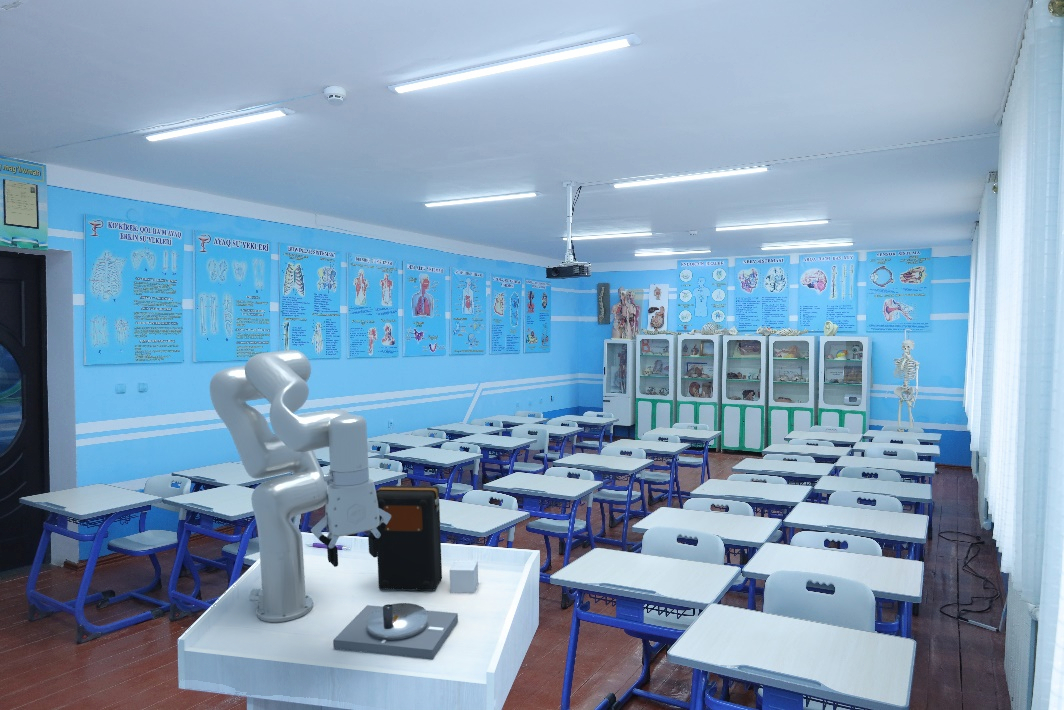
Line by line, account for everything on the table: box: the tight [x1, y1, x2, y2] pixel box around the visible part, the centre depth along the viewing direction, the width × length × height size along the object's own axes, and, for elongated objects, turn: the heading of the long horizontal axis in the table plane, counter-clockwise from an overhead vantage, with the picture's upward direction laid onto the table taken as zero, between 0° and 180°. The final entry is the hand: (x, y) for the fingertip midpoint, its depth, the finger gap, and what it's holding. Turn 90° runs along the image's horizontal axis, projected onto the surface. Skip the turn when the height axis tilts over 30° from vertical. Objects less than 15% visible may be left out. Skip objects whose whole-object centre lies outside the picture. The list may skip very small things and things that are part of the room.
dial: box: [367, 602, 428, 640], centre depth 154 cm, size 13×13×6 cm
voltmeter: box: [376, 485, 443, 591], centre depth 178 cm, size 16×9×25 cm, turn 84°
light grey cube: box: [449, 559, 479, 594], centre depth 177 cm, size 6×6×6 cm
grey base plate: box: [332, 604, 459, 660], centre depth 155 cm, size 22×16×2 cm
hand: (354, 559), depth 146 cm, fingers open, 7 cm apart
